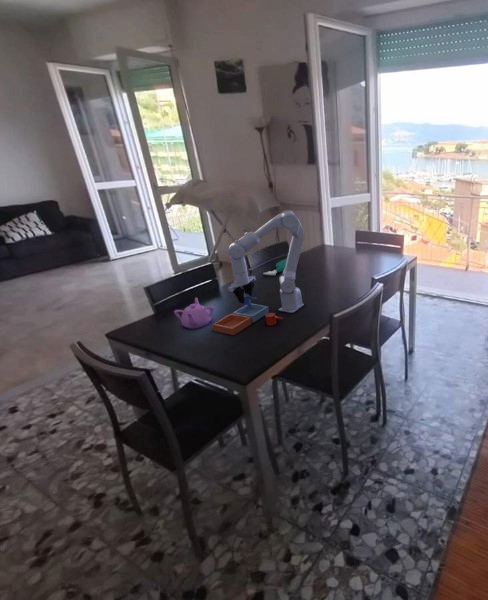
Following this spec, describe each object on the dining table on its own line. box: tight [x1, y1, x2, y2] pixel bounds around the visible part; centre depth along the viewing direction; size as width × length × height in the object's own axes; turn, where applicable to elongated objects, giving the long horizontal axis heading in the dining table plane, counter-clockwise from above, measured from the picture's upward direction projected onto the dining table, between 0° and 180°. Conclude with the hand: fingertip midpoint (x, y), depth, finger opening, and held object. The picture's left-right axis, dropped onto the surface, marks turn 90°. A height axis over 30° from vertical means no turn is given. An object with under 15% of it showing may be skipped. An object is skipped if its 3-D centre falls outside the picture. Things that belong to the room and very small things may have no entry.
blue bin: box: [232, 303, 270, 324], centre depth 157 cm, size 11×11×3 cm
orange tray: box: [211, 313, 253, 336], centre depth 147 cm, size 11×11×3 cm
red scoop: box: [264, 312, 284, 326], centre depth 149 cm, size 8×4×4 cm, turn 68°
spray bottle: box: [262, 258, 287, 276], centre depth 213 cm, size 3×11×24 cm
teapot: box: [173, 297, 215, 330], centre depth 150 cm, size 12×14×9 cm
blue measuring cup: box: [240, 293, 257, 307], centre depth 154 cm, size 8×4×4 cm, turn 68°
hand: (245, 300), depth 155 cm, fingers closed on blue measuring cup, 4 cm apart
